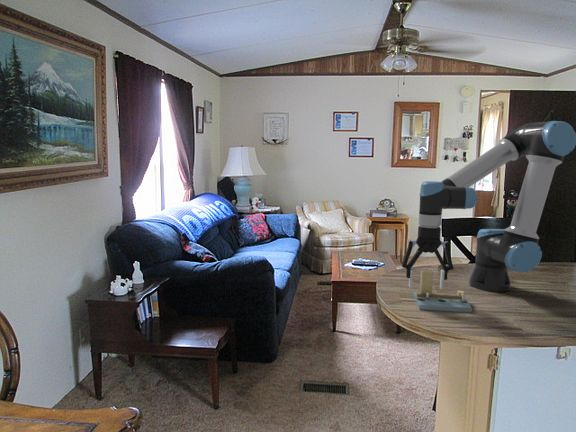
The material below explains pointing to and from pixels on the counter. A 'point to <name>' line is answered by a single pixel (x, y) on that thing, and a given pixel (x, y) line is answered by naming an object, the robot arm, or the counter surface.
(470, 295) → the counter surface
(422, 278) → the block
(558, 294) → the counter surface
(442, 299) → the board
